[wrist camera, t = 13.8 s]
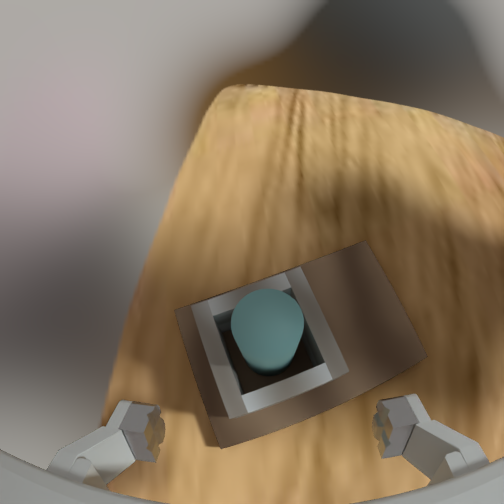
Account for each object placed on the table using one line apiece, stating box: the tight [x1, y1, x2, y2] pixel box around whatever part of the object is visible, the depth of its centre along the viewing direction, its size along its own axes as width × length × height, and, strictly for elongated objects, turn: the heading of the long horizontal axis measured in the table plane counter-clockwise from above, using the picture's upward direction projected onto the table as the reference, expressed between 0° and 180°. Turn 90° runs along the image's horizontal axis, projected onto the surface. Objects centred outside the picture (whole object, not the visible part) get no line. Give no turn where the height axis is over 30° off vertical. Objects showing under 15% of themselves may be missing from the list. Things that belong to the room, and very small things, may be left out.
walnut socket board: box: [174, 240, 428, 449], centre depth 23 cm, size 18×12×6 cm, turn 110°
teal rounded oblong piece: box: [231, 289, 304, 376], centre depth 20 cm, size 4×4×8 cm
